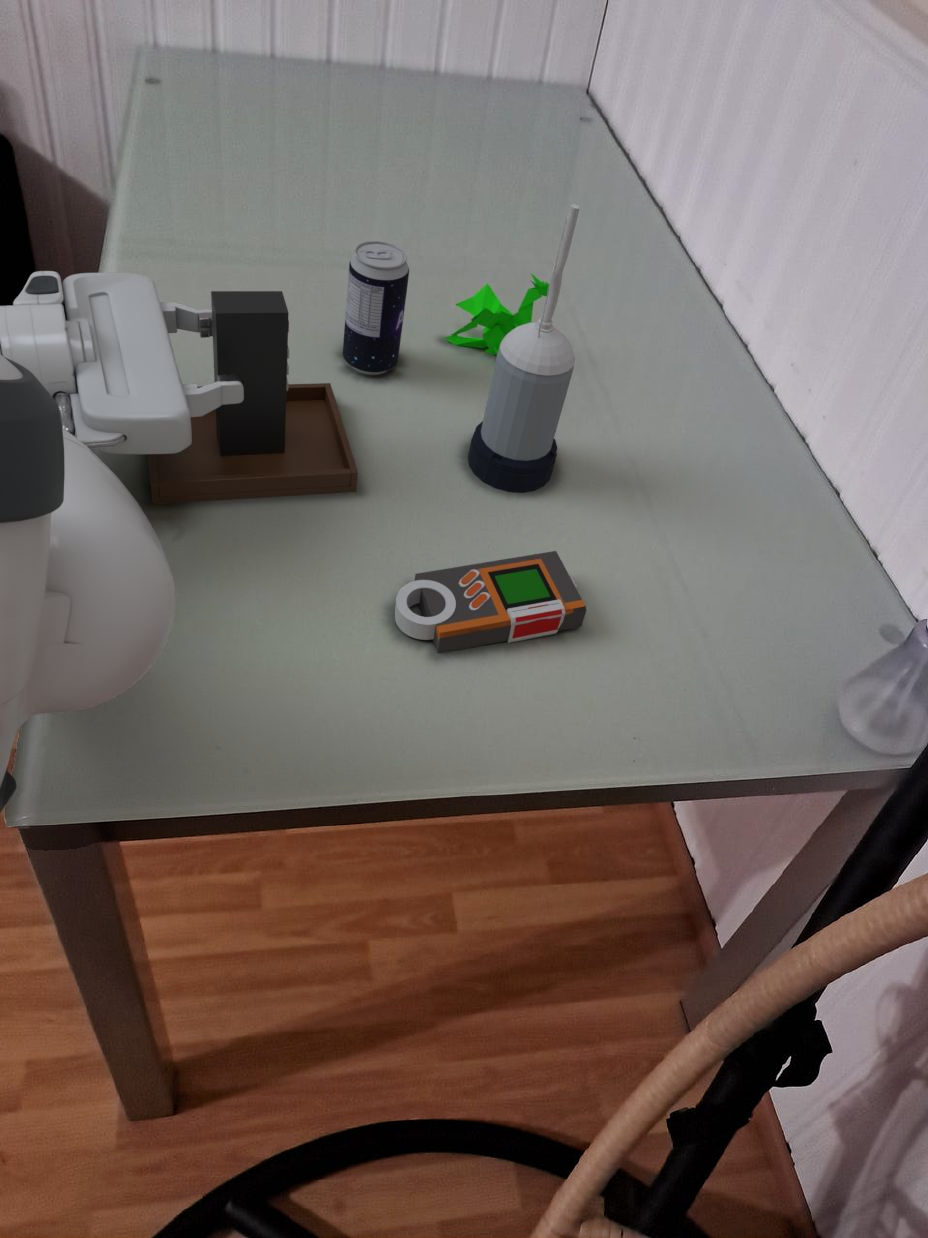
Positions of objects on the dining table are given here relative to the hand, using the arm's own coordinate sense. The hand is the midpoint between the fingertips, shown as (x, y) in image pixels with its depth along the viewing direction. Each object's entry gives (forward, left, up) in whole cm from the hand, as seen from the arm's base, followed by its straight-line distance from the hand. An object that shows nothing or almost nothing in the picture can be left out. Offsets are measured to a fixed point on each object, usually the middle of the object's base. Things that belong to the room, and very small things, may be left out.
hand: (230, 354), depth 78 cm
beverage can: (+15, +13, -10) cm, 23 cm away
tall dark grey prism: (+2, 0, -9) cm, 9 cm away
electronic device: (+17, -22, -10) cm, 30 cm away
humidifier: (+25, -4, -10) cm, 28 cm away
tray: (+1, 0, -10) cm, 10 cm away
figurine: (+29, +15, -10) cm, 34 cm away
